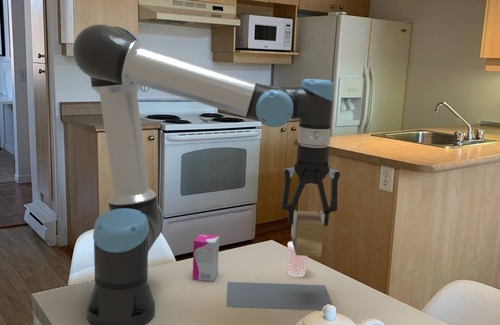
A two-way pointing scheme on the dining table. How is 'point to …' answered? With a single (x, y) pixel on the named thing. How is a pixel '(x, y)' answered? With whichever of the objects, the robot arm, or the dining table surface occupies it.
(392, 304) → the dining table surface
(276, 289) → the slate mat
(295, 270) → the beverage cup
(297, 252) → the walnut block
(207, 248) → the supplement box
